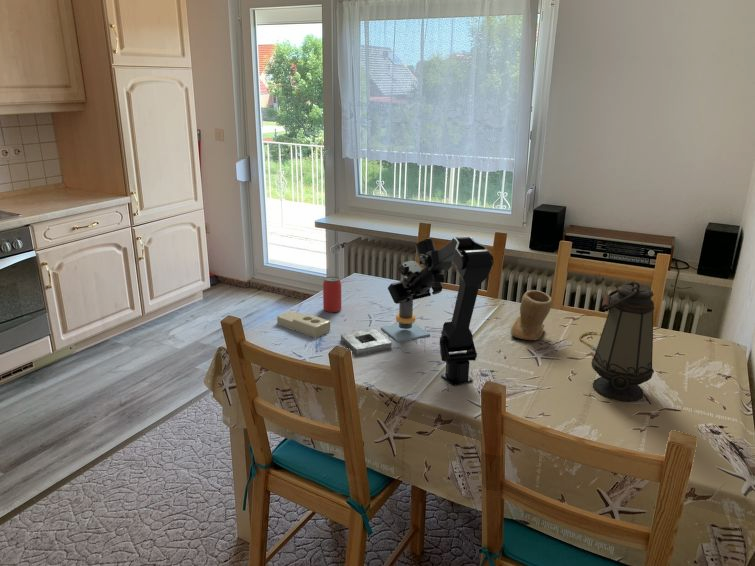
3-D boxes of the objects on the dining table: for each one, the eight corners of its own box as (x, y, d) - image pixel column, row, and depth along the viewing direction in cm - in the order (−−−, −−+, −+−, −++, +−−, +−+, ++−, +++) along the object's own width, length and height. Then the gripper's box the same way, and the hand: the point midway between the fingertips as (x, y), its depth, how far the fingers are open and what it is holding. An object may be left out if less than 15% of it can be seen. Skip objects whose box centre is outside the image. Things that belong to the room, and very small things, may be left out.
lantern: (649, 413, 137) (671, 300, 127) (585, 399, 143) (601, 290, 133) (649, 381, 153) (668, 279, 143) (591, 369, 159) (606, 270, 149)
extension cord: (574, 350, 172) (575, 344, 171) (581, 332, 185) (582, 327, 185) (616, 359, 167) (617, 353, 166) (620, 340, 180) (621, 334, 179)
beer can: (340, 313, 197) (340, 281, 193) (322, 312, 197) (321, 281, 193) (342, 306, 203) (341, 276, 199) (324, 306, 203) (323, 275, 200)
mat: (430, 335, 180) (430, 333, 179) (398, 342, 174) (398, 340, 174) (411, 322, 190) (411, 321, 189) (380, 328, 184) (380, 327, 184)
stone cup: (543, 346, 173) (549, 302, 168) (506, 339, 178) (510, 295, 173) (551, 329, 186) (557, 287, 181) (516, 323, 191) (521, 282, 186)
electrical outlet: (292, 308, 191) (330, 320, 181) (292, 318, 192) (330, 332, 182) (277, 313, 186) (315, 327, 175) (277, 324, 187) (315, 338, 177)
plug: (418, 328, 180) (420, 278, 175) (401, 331, 177) (403, 281, 172) (408, 321, 185) (410, 273, 180) (392, 324, 182) (393, 275, 177)
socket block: (391, 348, 170) (391, 342, 169) (356, 355, 165) (356, 349, 164) (374, 333, 180) (374, 328, 179) (340, 340, 175) (340, 334, 174)
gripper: (438, 250, 175) (414, 275, 187) (392, 259, 165) (370, 284, 177) (453, 280, 172) (429, 303, 184) (407, 291, 161) (384, 314, 173)
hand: (403, 300), depth 179 cm, fingers closed on plug, 4 cm apart
